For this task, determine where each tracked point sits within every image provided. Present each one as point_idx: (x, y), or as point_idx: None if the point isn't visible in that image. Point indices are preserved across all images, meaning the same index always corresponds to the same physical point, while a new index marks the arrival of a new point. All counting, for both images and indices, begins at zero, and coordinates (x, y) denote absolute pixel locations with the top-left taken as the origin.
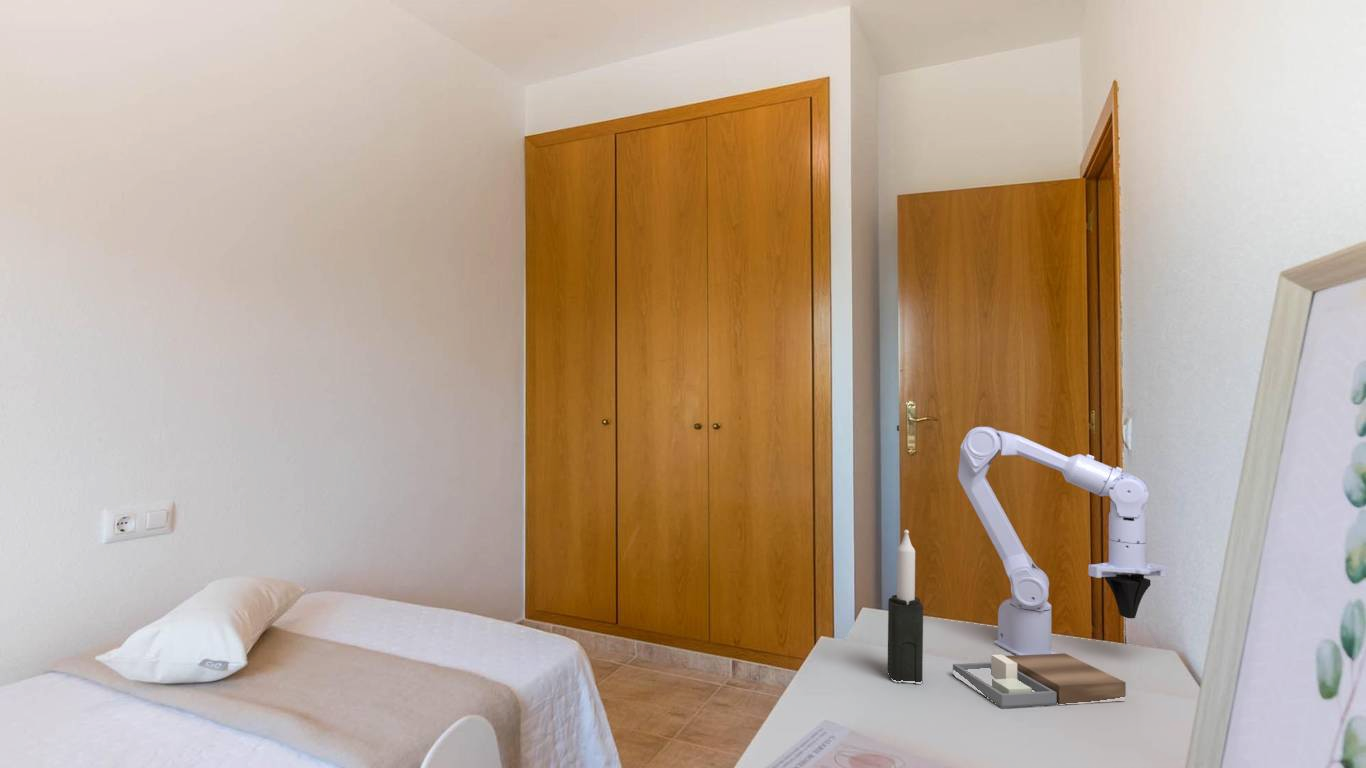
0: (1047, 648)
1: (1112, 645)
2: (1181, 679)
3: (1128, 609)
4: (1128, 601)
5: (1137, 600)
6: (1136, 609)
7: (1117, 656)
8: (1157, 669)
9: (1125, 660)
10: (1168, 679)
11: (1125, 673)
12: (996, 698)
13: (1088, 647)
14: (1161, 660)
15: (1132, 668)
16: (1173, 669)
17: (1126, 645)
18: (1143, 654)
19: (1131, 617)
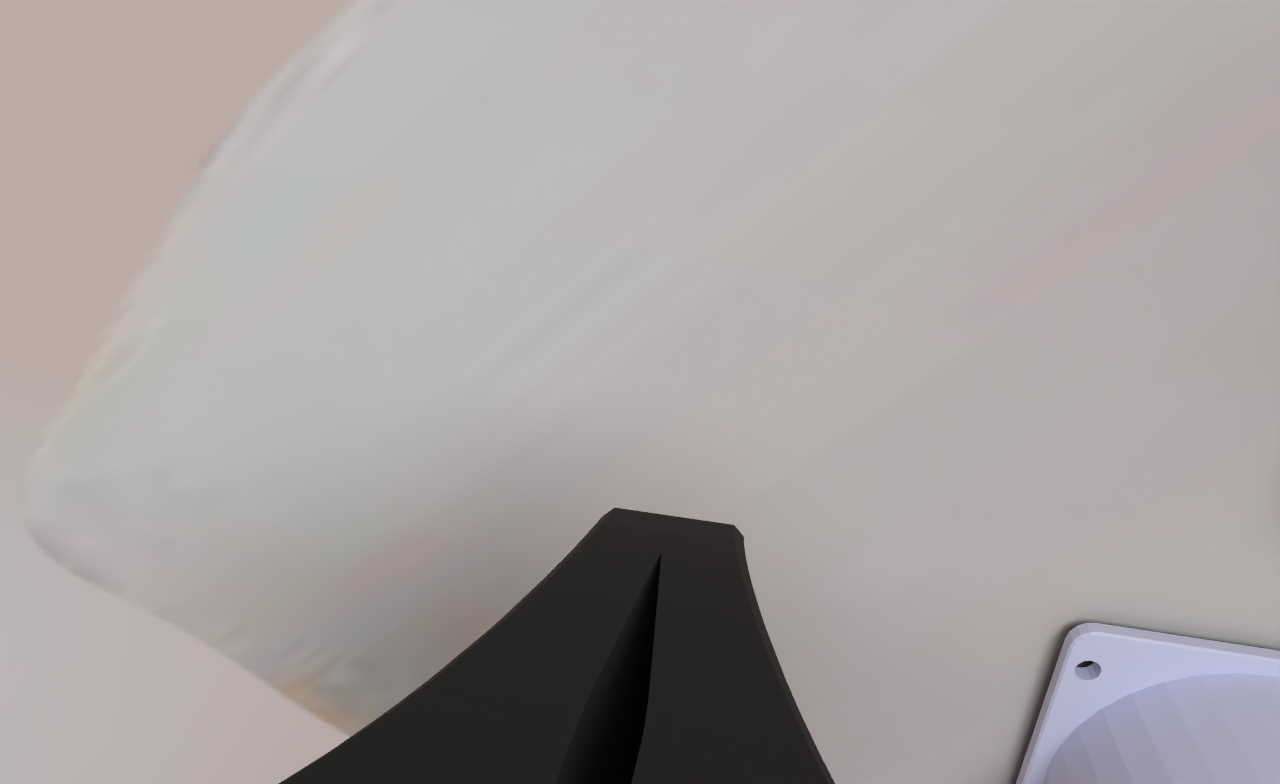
0: (1248, 720)
1: (375, 696)
2: (431, 7)
3: (761, 625)
4: (808, 748)
5: (528, 704)
6: (588, 573)
7: (532, 542)
8: (445, 253)
9: (543, 467)
10: (557, 33)
11: (833, 245)
12: None
13: None
14: (244, 396)
15: (649, 322)
16: (303, 221)
17: (271, 669)
18: (286, 519)
19: (687, 525)
